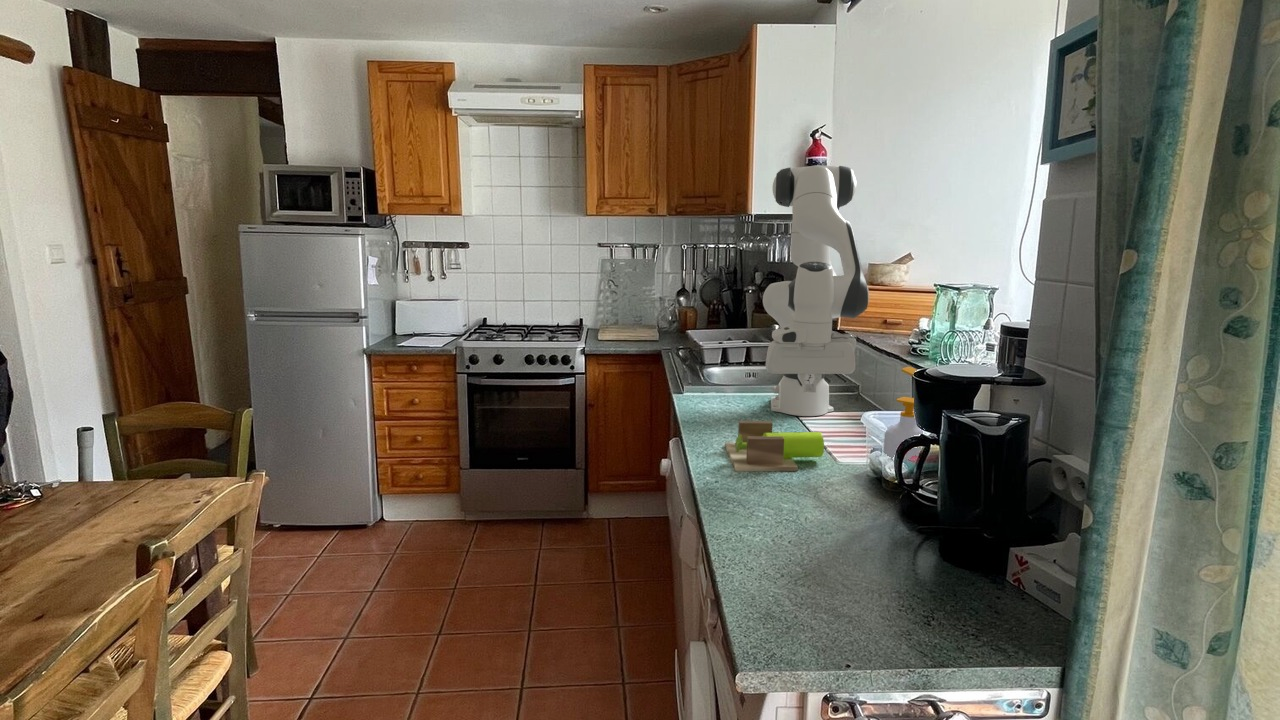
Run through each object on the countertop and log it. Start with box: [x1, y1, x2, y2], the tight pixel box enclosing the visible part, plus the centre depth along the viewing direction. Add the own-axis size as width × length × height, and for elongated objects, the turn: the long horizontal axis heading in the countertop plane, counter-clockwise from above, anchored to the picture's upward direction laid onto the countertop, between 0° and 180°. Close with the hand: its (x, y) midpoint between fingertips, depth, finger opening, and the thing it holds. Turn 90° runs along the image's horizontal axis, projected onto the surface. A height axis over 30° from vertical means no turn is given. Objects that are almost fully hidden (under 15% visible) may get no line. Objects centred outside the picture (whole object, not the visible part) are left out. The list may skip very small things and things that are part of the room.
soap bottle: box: [883, 366, 923, 462], centre depth 145 cm, size 9×9×25 cm
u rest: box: [724, 420, 799, 472], centre depth 160 cm, size 18×14×7 cm
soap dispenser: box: [734, 431, 825, 459], centre depth 157 cm, size 6×7×20 cm
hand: (808, 392), depth 158 cm, fingers closed
